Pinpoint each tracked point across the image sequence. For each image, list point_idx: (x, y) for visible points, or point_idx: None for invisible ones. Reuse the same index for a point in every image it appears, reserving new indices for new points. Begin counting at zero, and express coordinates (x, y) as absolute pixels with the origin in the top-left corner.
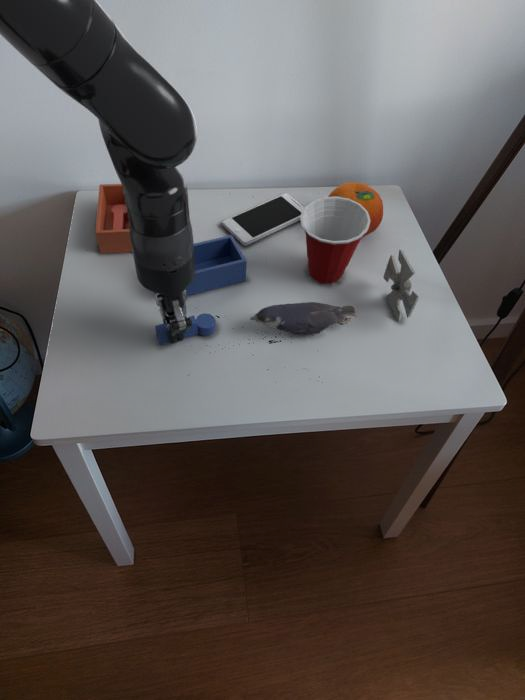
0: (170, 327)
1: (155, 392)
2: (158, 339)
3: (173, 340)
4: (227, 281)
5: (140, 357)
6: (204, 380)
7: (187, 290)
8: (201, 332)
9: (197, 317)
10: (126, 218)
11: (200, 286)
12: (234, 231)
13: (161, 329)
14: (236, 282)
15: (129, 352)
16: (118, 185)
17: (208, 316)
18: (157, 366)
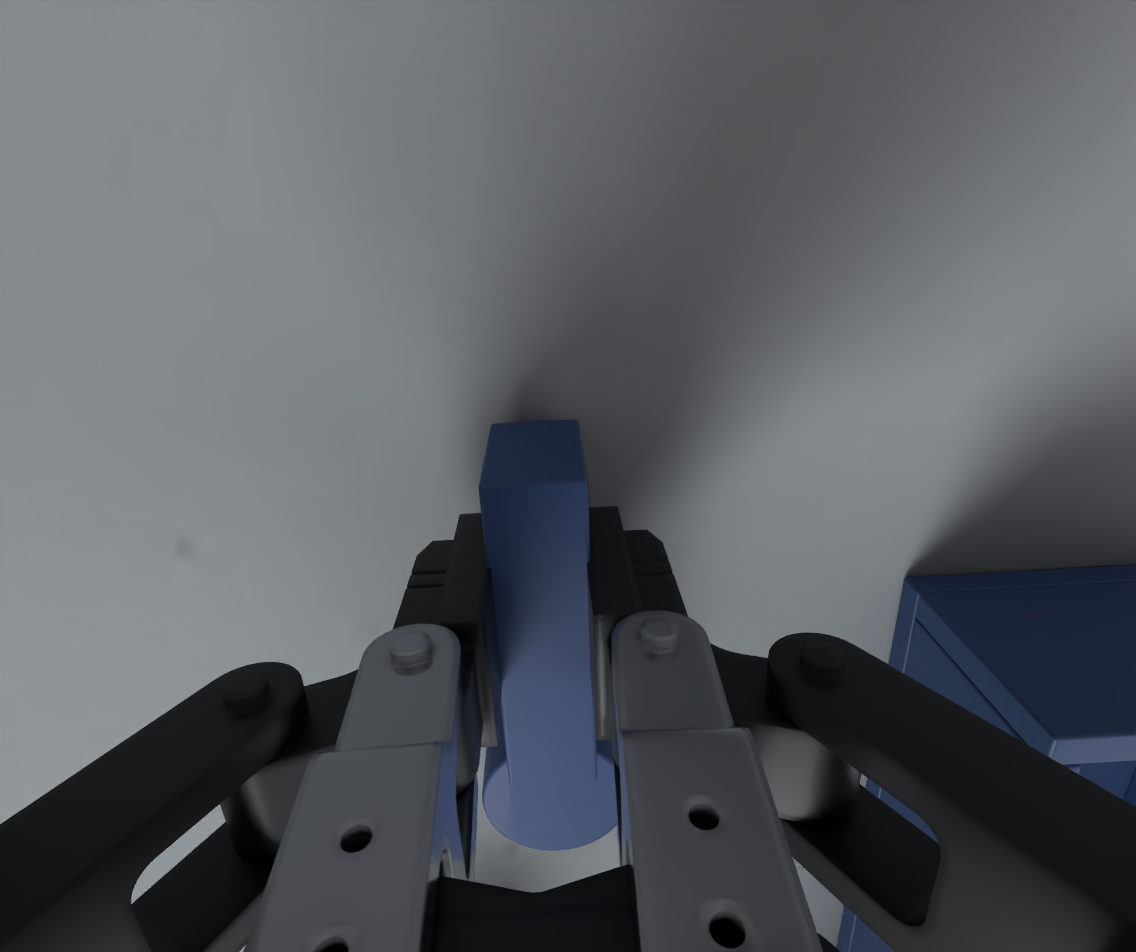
0: (68, 855)
1: (32, 280)
2: (505, 441)
3: (412, 571)
4: (862, 930)
5: (423, 237)
6: (126, 628)
7: None
8: (502, 722)
9: (604, 764)
10: None
11: (899, 813)
12: None
13: (519, 527)
14: (843, 938)
15: (503, 150)
16: None
17: (588, 823)
18: (300, 354)
